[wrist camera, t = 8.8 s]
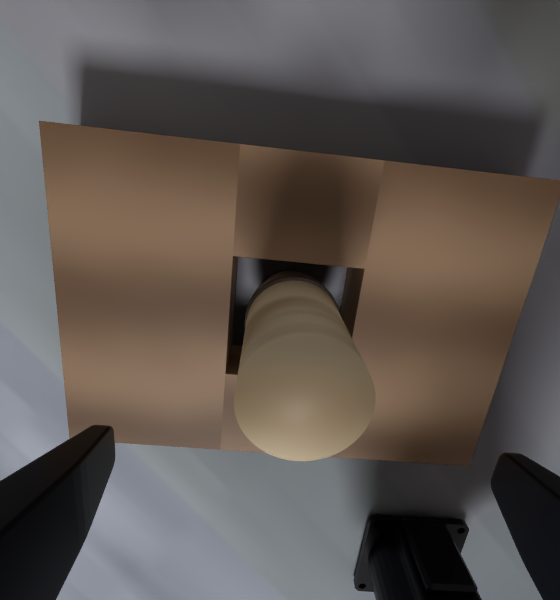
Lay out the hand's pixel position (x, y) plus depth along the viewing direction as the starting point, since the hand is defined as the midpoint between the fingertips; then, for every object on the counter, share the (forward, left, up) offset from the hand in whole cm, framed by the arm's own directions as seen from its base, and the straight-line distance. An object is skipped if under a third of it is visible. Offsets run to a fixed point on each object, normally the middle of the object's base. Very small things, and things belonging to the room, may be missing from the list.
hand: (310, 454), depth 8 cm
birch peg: (0, 0, -11) cm, 11 cm away
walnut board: (0, 0, -11) cm, 11 cm away
